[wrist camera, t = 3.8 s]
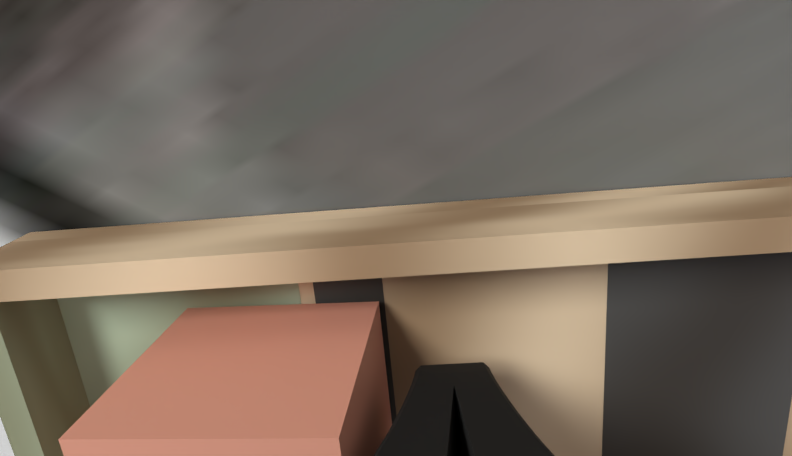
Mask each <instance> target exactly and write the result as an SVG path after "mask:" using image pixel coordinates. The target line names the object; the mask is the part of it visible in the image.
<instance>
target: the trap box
mask: <svg viewBox="0 0 792 456" xmlns="http://www.w3.org/2000/svg"><path fill="white" fill-rule="evenodd" d="M376 301H379V308H380V318H381V327H382V336H383V345H384V354H385V364H386V373H387V382H388V391H389V400H390V410H391V419H392V424H393V422H394V420H395V418H396V416H397V414H398V413H399V411H400V409H401V407H402V405H403V402H404V400H405V398H406V396H407V394H408V391H409V389H410V386H411V384H412V381H413V378H414V374H415V371H416V370H417V369H418V368H419V367H420V366H421V365H438V364H457V363H477V362H484V363H485V364H486V365H487V366H488V367H489V368H490V370H491V372H492V374H493V376H494V378H495V379H496V381H497V383H498V384H499V386H500V387H501V389H502V390H503V392H504V393H505V395H506V396H507V398H508V399H509V400H510V402H511V403H512V405H513V406H514V407H515V409H516V410H517V411H518V413H519V414H520V415H521V417H522V418H523V419H524V420H525V422H526V423H527V424H528V425H529V427H530V428H531V429H532V430H533V432H534V433H535V434H536V435H537V436H538V438H539V439H540V440H541V441H542V442H543V443H544V445H545V446H546V447H547V448H548V449H549V450H550V451H551V452H552V453H553V454H554V456H792V177H784V178H770V179H757V180H743V181H729V182H716V183H702V184H688V185H674V186H661V187H647V188H633V189H619V190H606V191H592V192H578V193H564V194H551V195H537V196H523V197H509V198H496V199H482V200H468V201H454V202H441V203H427V204H413V205H399V206H386V207H372V208H358V209H344V210H331V211H317V212H303V213H289V214H276V215H262V216H248V217H234V218H221V219H207V220H193V221H179V222H166V223H152V224H138V225H124V226H111V227H97V228H83V229H69V230H56V231H42V232H30V233H28V234H26V235H24V236H22V237H20V238H18V239H16V240H14V241H12V242H10V243H8V244H6V245H4V246H2V247H0V417H1V420H2V423H3V425H4V428H5V431H6V434H7V436H8V439H9V442H10V444H11V447H12V450H13V452H14V455H15V456H64V455H63V452H62V449H61V446H60V443H59V440H58V439H59V438H60V437H61V436H62V435H63V434H64V433H65V432H66V431H67V430H68V429H69V428H70V427H71V426H72V425H73V424H74V423H75V422H76V421H77V420H78V419H79V418H80V417H81V416H82V415H83V414H84V413H85V412H86V411H87V410H88V409H89V408H90V407H91V406H92V405H93V404H94V403H95V402H96V401H97V400H98V399H99V398H100V397H101V396H102V395H103V393H104V392H105V391H106V390H107V389H108V388H109V387H110V386H111V385H112V384H113V383H114V382H115V381H116V380H117V379H118V378H119V377H120V376H121V375H122V374H123V373H124V372H125V371H126V370H127V369H128V368H129V367H130V366H131V365H132V364H133V363H134V362H135V361H136V360H137V359H138V358H139V357H140V356H141V355H142V354H143V353H144V352H145V351H146V350H147V349H148V348H149V347H150V346H151V345H152V344H153V343H154V342H155V341H156V340H157V339H158V338H159V337H160V336H161V335H162V333H163V332H164V331H165V330H166V329H167V328H168V327H169V326H170V325H171V324H172V323H173V322H174V321H175V320H176V319H177V318H178V317H179V316H180V315H181V314H182V313H183V312H184V311H185V310H186V309H187V308H205V307H233V306H262V305H291V304H319V303H348V302H376Z"/></svg>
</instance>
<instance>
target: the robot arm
mask: <svg viewBox="0 0 792 456" xmlns="http://www.w3.org/2000/svg"><path fill="white" fill-rule="evenodd" d="M374 456H554V454H553V453H552V452H551V451H550V450H549V449H548V448H547V447H546V446H545V445H544V443H543V442H542V441H541V440H540V439H539V438H538V436H537V435H536V434H535V433H534V432H533V430H532V429H531V428H530V427H529V425H528V424H527V423H526V422H525V420H524V419H523V418H522V417H521V415H520V414H519V413H518V411H517V410H516V409H515V407H514V406H513V405H512V403H511V402H510V400H509V399H508V398H507V396H506V395H505V393H504V392H503V390H502V389H501V387H500V386H499V384H498V383H497V381H496V379H495V378H494V376H493V374H492V372H491V370H490V368H489V367H488V366H487V365H486V364H485V363H484V362H477V363H457V364H438V365H421V366H420V367H419V368H418V369H417V370H416V371H415V374H414V378H413V381H412V384H411V386H410V389H409V391H408V394H407V396H406V398H405V400H404V402H403V405H402V407H401V409H400V411H399V413H398V414H397V416H396V418H395V420H394V422H393V424H392V426H391V428H390V430H389V431H388V433H387V435H386V437H385V438H384V440H383V441H382V443H381V445H380V446H379V448H378V449H377V451H376V453H375V454H374Z"/></svg>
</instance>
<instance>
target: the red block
mask: <svg viewBox="0 0 792 456" xmlns="http://www.w3.org/2000/svg"><path fill="white" fill-rule="evenodd" d="M391 426H392V419H391V410H390V400H389V391H388V382H387V373H386V364H385V354H384V345H383V336H382V327H381V318H380V308H379V301H376V302H348V303H319V304H291V305H262V306H233V307H205V308H187V309H186V310H185V311H184V312H183V313H182V314H181V315H180V316H179V317H178V318H177V319H176V320H175V321H174V322H173V323H172V324H171V325H170V326H169V327H168V328H167V329H166V330H165V331H164V332H163V333H162V335H161V336H160V337H159V338H158V339H157V340H156V341H155V342H154V343H153V344H152V345H151V346H150V347H149V348H148V349H147V350H146V351H145V352H144V353H143V354H142V355H141V356H140V357H139V358H138V359H137V360H136V361H135V362H134V363H133V364H132V365H131V366H130V367H129V368H128V369H127V370H126V371H125V372H124V373H123V374H122V375H121V376H120V377H119V378H118V379H117V380H116V381H115V382H114V383H113V384H112V385H111V386H110V387H109V388H108V389H107V390H106V391H105V392H104V393H103V395H102V396H101V397H100V398H99V399H98V400H97V401H96V402H95V403H94V404H93V405H92V406H91V407H90V408H89V409H88V410H87V411H86V412H85V413H84V414H83V415H82V416H81V417H80V418H79V419H78V420H77V421H76V422H75V423H74V424H73V425H72V426H71V427H70V428H69V429H68V430H67V431H66V432H65V433H64V434H63V435H62V436H61V437H60V438H59V439H58V440H59V443H60V446H61V449H62V452H63V455H64V456H374V454H375V453H376V451H377V449H378V448H379V446H380V445H381V443H382V441H383V440H384V438H385V437H386V435H387V433H388V431H389V430H390V428H391Z"/></svg>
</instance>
